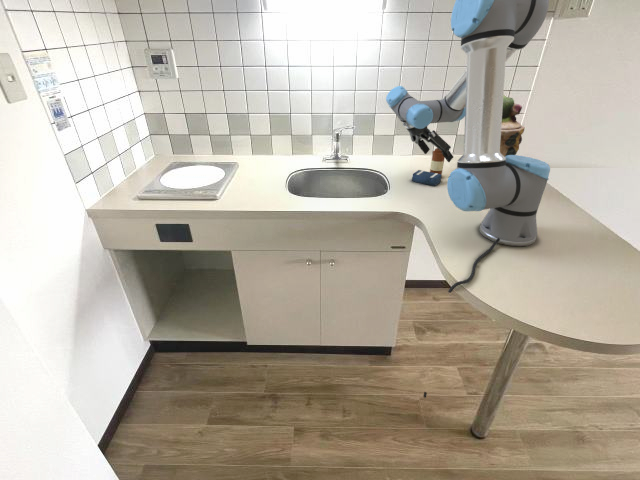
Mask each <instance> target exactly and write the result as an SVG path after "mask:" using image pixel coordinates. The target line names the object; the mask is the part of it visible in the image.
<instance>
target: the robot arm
mask: <svg viewBox="0 0 640 480" xmlns="http://www.w3.org/2000/svg"><path fill="white" fill-rule="evenodd" d="M549 2H550V1H549V0H455V1H454V5H453V7H452V10H451V17H450V27H451V28H450V29H451V31H452V32H453V34H454V36H455V37H457V38H459V39H460V49H461V50H462V51H463V52H464V53H465V54H466V69H465V70H464V72H463V73H462V75H461V76H460V77H459V78H458V79H457V81H456V82H455V83H454V84H453V85H452V87H451V88H450V90H449V91H448V92H447V93H446V95H445V96H444V97H443V98H442V99H431V100H430V99H429V100H418V99H417V98H415V97H414V96H412V95H410V94H409V92H408V90H407V89H406V88H405V87H404V86H403V85H397V86H394V87H393V88H391V90H390V91H389V92H388V93H387V95H386V98H385V101H386V104H387V105H388V107H389V108H390V109H391V110H392V112H393V113H394V114H395V115H396V117H397V118H398V119H399V121H400V122H401V123H402V126H403V127H404V128H406V130H407V132H408V133H409V136H410V140H411V142H412V143H414V142H415V144H416V145H417V146H418V147H419V148H420V150H421V151H422V152H423V154H424V155H427V154H428V152H430V150H431V148H430V147H429V146H428V144H427V143H431V144H432V145H433V146H434V147H435V148H438V149H439V150H441V154H443V156H444V157H445V158H444V160H446V162H447V163H450V162H451V161H452V160H453V159H454V155H453V154H452V152H451V151H450V150H451V148H452V147H451V145H450V144H448V142H446V140H444V139H443V137H441V136H440V135H439V134H438V133H437V131H436V130H432V131H431V129H429V128H428V126H429V125H430V124H439V123H454V122H459V121H461V120H463V119H464V135H463V136H464V138H463V154H462V155H461V156H460V157H459V159H457V163H456V168H455V169H453V170H452V171H451V172H450V173H449V176H448V178H447V182H446V183H447V184H446V188H447V193H448V196H449V198H450V201H451V202H452V203H453V205H454V206H455V207H456V208H458V210H460V211H462V212H481V211H485V210H488V212H487V213H486V215H485V216H484V218H483V219H482V221H481V223H480V226H479V232H480V234H481V235H482V236H483V237H485V238H486V239H487V240H489V241H492V242H493V243H492V245H491V246H490V247H489V248H488V249H487V250H486V251H485V252H483V253H482V254H480V255H479V256H478V257H477V258H476V259H475V260H474V261H473V265H472V268H471V273H470V275H469V276H468V277H467V279H464V280H460V281H457V282H455V283H453V284H452V285H451V286H450V288H449V289H448V290H447V292H448V294H449V293H450V294H451V293H452V292H453V290H454V289H455V288H457V287H458V286H460V285H464V284H467V283H470V281H472V280H473V278H474V276H475V273H476V269H477V265H478V263H479V262H480V260H482V259H483V258H484V257H485V256H487V255H488V254H489V253H490V252H492V251H493V249H494V248H495V247H496V246H497V244H500V245H504V246H510V247H526V246H527V247H528V246H530V245H533V244H534V243H535V242H536V240H537V237H538V226H537V224H538V223H537V214H538V210H539V207H540V204H541V202H542V198H543V195H544V192H545V189H546V186H547V184H548V181H549V175H550V172H551V167H550V165H549V163H547V162H545V161H543V160H540V159H537V158H533V157H530V156H524V155H519V154H518V155H517V154H516V155H507V156H505V157H504V156H503V155H502V154H501V153H500V140H501V124H502V109H503V95H504V91H505V79H506V78H505V77H506V62H508V60H509V59H510V58H511V57H513V55H514V53H516V52H517V51H521V50H522V49H524V48H525V47H526V46H527V45H529V43H530V42H531V41H532V40H533V38H534V37H535V36H536V35H537V33H538V32H539V30H540V29H541V27H542V26H543V24H544V22H545V20H546V17H547V14H548V10H549V6H550V5H549ZM427 395H428V392H426V391H424V392H423V398H427Z"/></svg>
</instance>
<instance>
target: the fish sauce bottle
mask: <svg viewBox="0 0 640 480" xmlns="http://www.w3.org/2000/svg"><path fill="white" fill-rule="evenodd" d="M444 163H445V157H444V156H443V154H441V150H439V149H438V148H437V147H435V148H434V150H432V155H431V161H430V166H429V168H430V169H429V172H432V173H438V174H442V175H443V171H444V165H445V164H444Z"/></svg>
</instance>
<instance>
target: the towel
mask: <svg viewBox="0 0 640 480" xmlns="http://www.w3.org/2000/svg"><path fill="white" fill-rule="evenodd" d="M442 175H443V173H442V174H438V173H432V172H430V171H427V170H421V169H418V170H416V171H415V172H413V173H412V176H411V182H414V183H419V184H421V185H427V186H432V187H436V186H437V185H438V184H440V183H442V182H441V180H442Z"/></svg>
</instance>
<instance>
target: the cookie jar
mask: <svg viewBox="0 0 640 480" xmlns="http://www.w3.org/2000/svg"><path fill="white" fill-rule="evenodd" d="M522 110H523V106H522V105H521V104H519V103H515V100H514V98H513V97H510V96H506V95H505V94H503V109H502V124H501V140H500V153H501V154H502V155H503V156H504V157H505V156H507V155H517V153H518V152H519V150H520V145H521V144H522V141H523V138H522V135H523V134H524V132H525V130H526V129H525V126H523V125H522V124H521V122H520V121H518V120H517V117H516V116H518V115H520V113H521V112H522Z"/></svg>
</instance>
